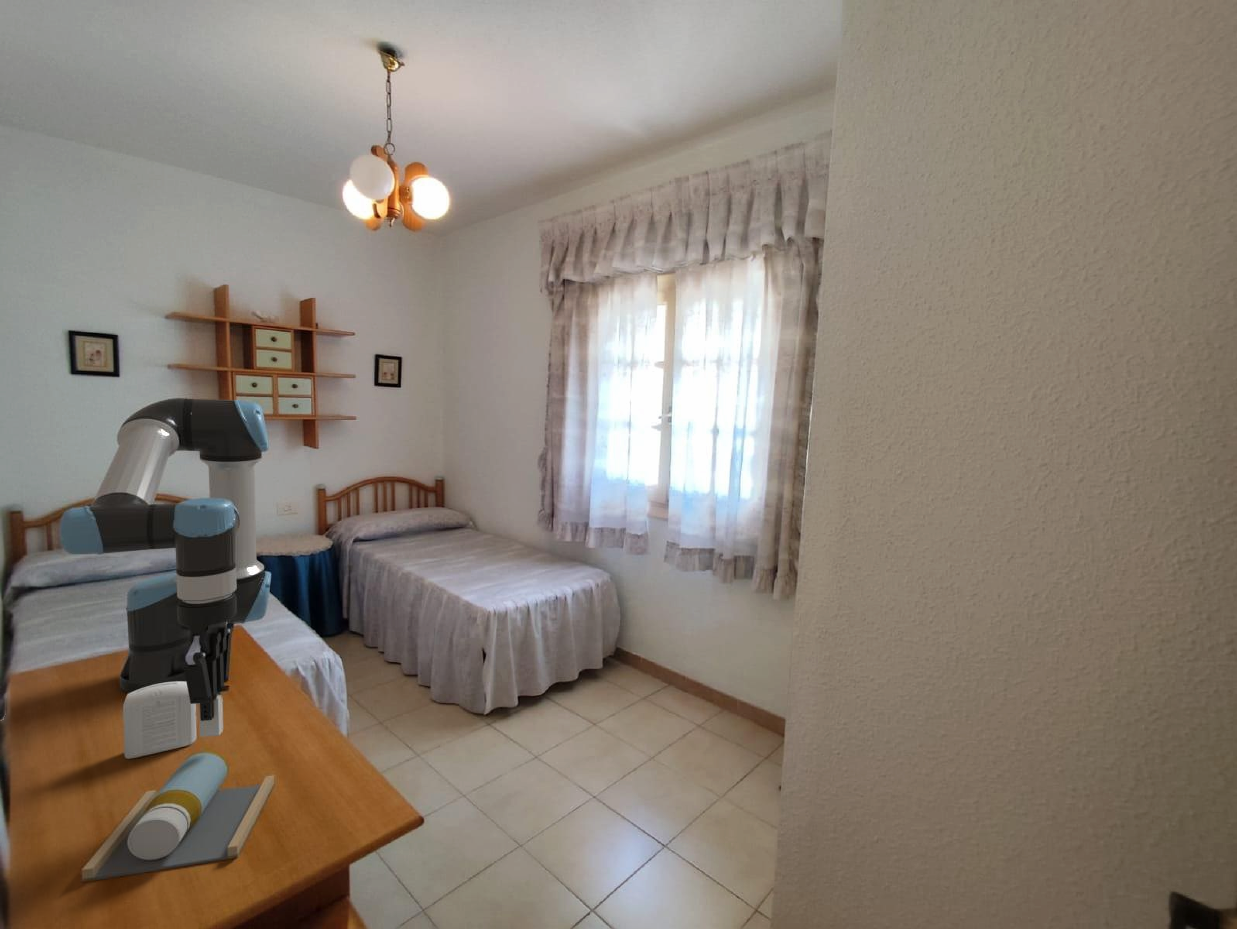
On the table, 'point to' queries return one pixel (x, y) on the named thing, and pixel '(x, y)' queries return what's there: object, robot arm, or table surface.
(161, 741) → the photo printer
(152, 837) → the bottle
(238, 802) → the grey tray
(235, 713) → the table surface
